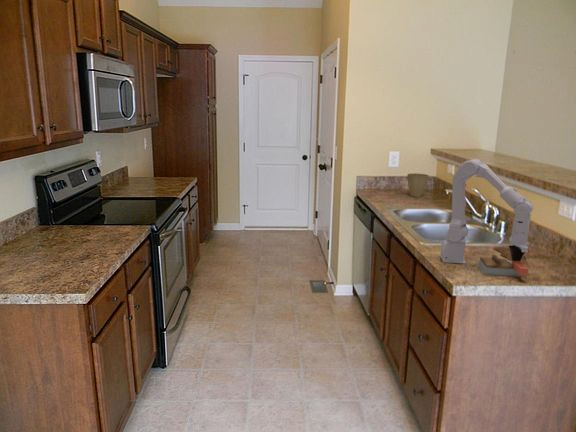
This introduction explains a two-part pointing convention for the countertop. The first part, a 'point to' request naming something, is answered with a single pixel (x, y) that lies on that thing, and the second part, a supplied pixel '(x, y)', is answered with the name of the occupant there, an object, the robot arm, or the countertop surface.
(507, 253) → the wooden fragment
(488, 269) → the gray box
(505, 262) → the lid
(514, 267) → the red block
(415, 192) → the plant pot
